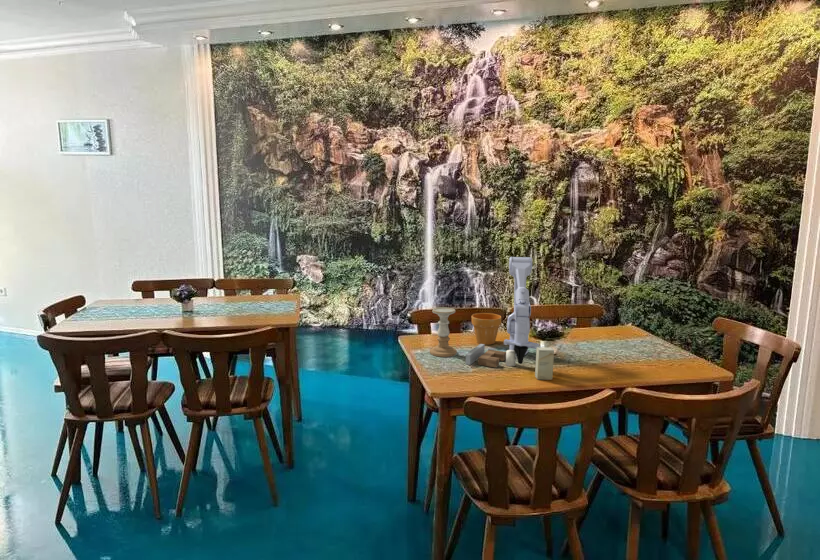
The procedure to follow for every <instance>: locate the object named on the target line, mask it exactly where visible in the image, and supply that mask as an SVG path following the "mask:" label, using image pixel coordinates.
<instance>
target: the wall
mask: <svg viewBox="0 0 820 560" xmlns="http://www.w3.org/2000/svg"><path fill="white" fill-rule="evenodd" d="M485 347H486V346H485V344H479V343H478V345H477V346H475V347H474V348H473V349H471V350H469V352H467V353H465V365H466V366H467V365H468V366H471V365H473V363H475V362H476V361H478V358H479V357H480V356H481V355H483V354H484V353H485Z"/></svg>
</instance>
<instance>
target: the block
mask: <svg viewBox="0 0 820 560" xmlns="http://www.w3.org/2000/svg"><path fill="white" fill-rule="evenodd" d="M500 361H501V362H504V361H506V351H503V350H502V351H501V350H494V349H488V350H487V351H486V352H485V351H484V354H483V355H481V356H480V357H479V358H478V359H477V365H478V366H483V367H490V368H497V367H498V366H499V365H500Z"/></svg>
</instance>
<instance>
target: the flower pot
mask: <svg viewBox="0 0 820 560" xmlns="http://www.w3.org/2000/svg"><path fill="white" fill-rule="evenodd" d="M471 325H473V330H474V335H475V340H476V343H477V344H478V345H479V344H485V345H486V346H487V345H488V346H489V345H493V344H495V343H496V341H497V340H496V339H497V336H498V332H499V328H500V326H501V325H502V316H501V315H500V314H496V313H493V312H478V313H473V314H472V315H471Z"/></svg>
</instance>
